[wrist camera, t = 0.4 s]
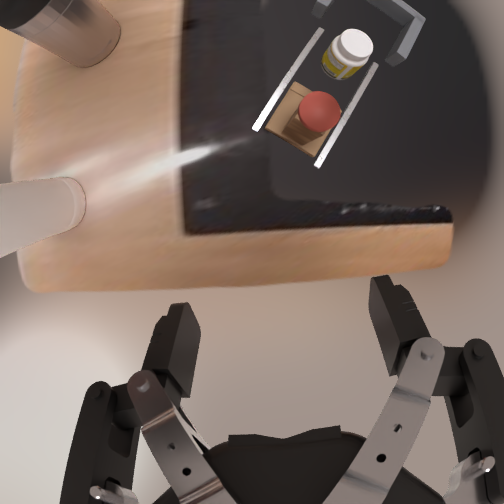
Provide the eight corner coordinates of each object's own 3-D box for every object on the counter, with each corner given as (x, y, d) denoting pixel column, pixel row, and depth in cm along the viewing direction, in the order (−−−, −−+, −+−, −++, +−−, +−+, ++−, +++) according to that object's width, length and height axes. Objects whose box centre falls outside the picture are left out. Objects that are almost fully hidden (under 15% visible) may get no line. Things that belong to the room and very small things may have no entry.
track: (251, 129, 35) (251, 128, 34) (318, 29, 31) (319, 27, 30) (317, 168, 36) (319, 168, 35) (376, 66, 32) (378, 65, 32)
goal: (310, 14, 30) (316, 0, 26) (339, -22, 28) (346, -34, 24) (393, 67, 32) (405, 59, 28) (413, 27, 30) (425, 18, 26)
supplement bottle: (353, 56, 32) (376, 32, 24) (352, 84, 33) (377, 65, 25) (320, 48, 32) (337, 21, 24) (318, 76, 33) (337, 54, 25)
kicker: (264, 128, 34) (274, 105, 22) (292, 85, 33) (314, 46, 21) (312, 157, 36) (344, 149, 23) (337, 113, 34) (378, 88, 22)
